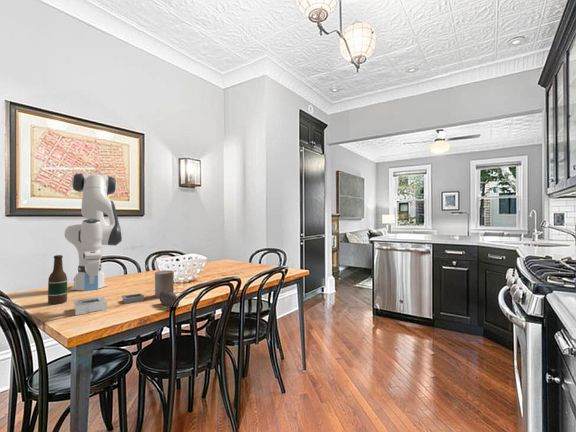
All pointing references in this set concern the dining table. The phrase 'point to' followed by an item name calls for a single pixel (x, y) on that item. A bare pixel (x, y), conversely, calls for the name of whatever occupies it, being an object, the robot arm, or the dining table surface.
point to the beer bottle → (57, 283)
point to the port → (89, 305)
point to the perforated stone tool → (167, 298)
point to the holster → (132, 298)
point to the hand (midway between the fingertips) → (91, 282)
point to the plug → (90, 286)
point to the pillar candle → (164, 282)
